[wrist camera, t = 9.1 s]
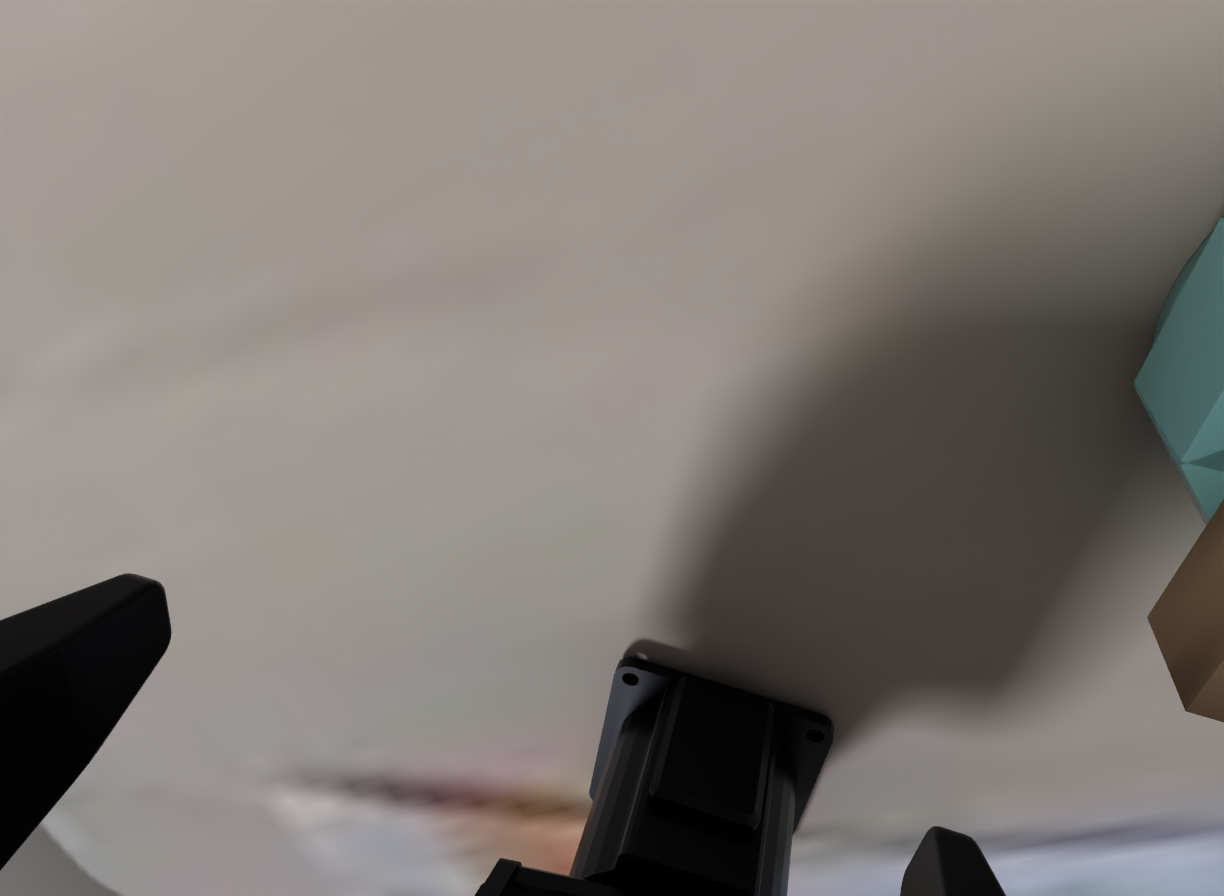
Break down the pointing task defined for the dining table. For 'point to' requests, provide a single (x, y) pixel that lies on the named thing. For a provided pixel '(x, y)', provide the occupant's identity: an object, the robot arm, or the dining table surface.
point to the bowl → (1191, 375)
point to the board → (1196, 623)
